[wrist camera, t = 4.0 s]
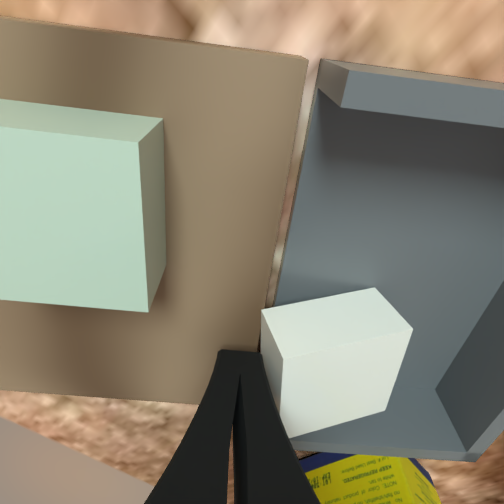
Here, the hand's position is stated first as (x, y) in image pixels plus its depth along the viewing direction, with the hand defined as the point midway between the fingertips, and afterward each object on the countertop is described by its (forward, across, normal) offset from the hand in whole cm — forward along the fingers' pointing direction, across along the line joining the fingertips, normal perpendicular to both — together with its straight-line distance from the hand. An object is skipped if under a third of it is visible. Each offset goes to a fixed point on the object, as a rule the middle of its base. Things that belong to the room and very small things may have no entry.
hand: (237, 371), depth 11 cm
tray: (+2, -5, -3) cm, 6 cm away
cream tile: (+1, -3, 0) cm, 3 cm away
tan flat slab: (+2, +4, -3) cm, 6 cm away
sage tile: (+1, +4, -6) cm, 7 cm away
